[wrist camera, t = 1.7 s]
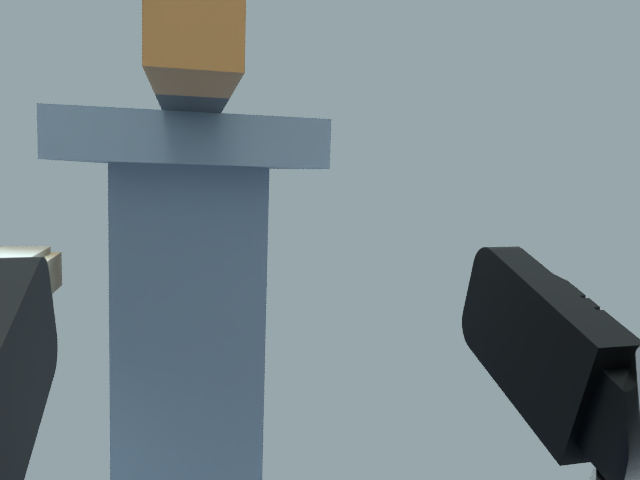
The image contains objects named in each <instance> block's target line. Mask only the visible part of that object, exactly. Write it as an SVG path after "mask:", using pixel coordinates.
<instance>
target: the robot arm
mask: <svg viewBox="0 0 640 480" xmlns="http://www.w3.org/2000/svg"><path fill="white" fill-rule="evenodd" d="M462 328H463V334H464V338H465V341H466V343H467V345H468V346H469V348H470V349H471V350H472V352H473V353H474V354H475V356H476V357H477V358H478V360H479V361H480V362H481V363H482V365H483V366H484V367H485V369H486V370H487V371H488V373H489V374H490V375H491V376H492V378H493V379H494V380H495V382H496V383H497V384H498V386H499V387H500V388H501V389H502V391H503V392H504V393H505V395H506V396H507V397H508V399H509V400H510V401H511V403H512V404H513V405H514V406H515V408H516V409H517V410H518V412H519V413H520V414H521V415H522V417H523V418H524V419H525V421H526V422H527V423H528V425H529V426H530V427H531V429H532V430H533V431H534V433H535V434H536V435H537V436H538V438H539V439H540V440H541V442H542V443H543V444H544V446H545V447H546V448H547V449H548V451H549V452H550V453H551V455H552V456H553V457H554V459H555V460H556V461H557V463H558V464H559V465H560V466H561V465H569V464H577V463H586V462H591V463H592V464H593V465H594V469H593V472H592V474H591V477H590V480H640V339H639V338H637V337H636V336H635V335H634V334H632V333H631V332H630V331H629V330H628V329H626V328H625V327H624V326H623V325H621V324H620V323H619V322H618V321H616V320H615V319H614V318H613V317H611V316H610V315H609V314H608V313H607V312H605V311H604V310H600V307H599V306H598V305H597V304H595V303H594V302H593V301H592V300H591V299H589V298H585V295H584V294H583V293H582V292H581V291H579V290H578V289H577V288H576V287H575V286H573V285H572V284H571V283H570V282H568V281H566V280H564V279H562V278H560V277H558V276H556V275H554V274H552V273H551V272H550V271H549V270H548V269H546V268H545V267H544V266H543V265H542V264H540V263H539V262H538V261H537V260H535V259H534V258H533V257H532V256H531V255H529V254H528V253H527V252H526V251H524V250H523V249H521V248H520V247H484V248H481V249H480V250H479V251H478V252H477V254H476V256H475V259H474V263H473V268H472V272H471V277H470V282H469V287H468V292H467V296H466V301H465V306H464V310H463V316H462ZM56 362H57V333H56V324H55V316H54V308H53V299H52V291H51V282H50V274H49V268H48V263H47V260H46V259H45V257H13V258H0V480H24V478H25V474H26V471H27V467H28V464H29V460H30V457H31V454H32V450H33V447H34V443H35V440H36V436H37V433H38V429H39V426H40V422H41V419H42V415H43V412H44V408H45V405H46V401H47V398H48V394H49V391H50V388H51V384H52V381H53V377H54V374H55V369H56Z"/></svg>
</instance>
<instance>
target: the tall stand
mask: <svg viewBox="0 0 640 480" xmlns="http://www.w3.org/2000/svg"><path fill="white" fill-rule="evenodd" d="M37 132H38V159H48V160H65V161H80V162H95V163H108V205H109V206H108V210H109V211H108V212H109V213H108V216H109V341H110V342H109V354H110V480H262V458H263V457H262V456H263V416H264V373H265V330H266V329H265V328H266V287H267V243H268V241H267V240H268V200H269V169H329V168H330V140H331V136H330V135H331V119H317V118H300V117H299V118H298V117H281V116H263V115H244V114H226V113H225V114H224V113H207V112H189V111H170V110H152V109H133V108H114V107H96V106H95V107H94V106H77V105H59V104H58V105H57V104H41V103H40V104H39V103H37Z"/></svg>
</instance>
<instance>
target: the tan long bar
mask: <svg viewBox="0 0 640 480" xmlns="http://www.w3.org/2000/svg"><path fill="white" fill-rule="evenodd" d="M245 18H246V0H142V66H143V69H144V71H145V73H146V75H147V77H148V79H149V82H150V84H151V86H152V89H153V91H154V93H155V95H156V97H157V100H158V102H159V104H160V106H161V109H162V110H170V111H189V112H207V113H221V112H222V111H223V109H224V107H225V105H226V104H227V102H228V100H229V98H230V97H231V95H232V93H233V92H234V90H235V88H236V86H237V85H238V83H239V82H240V80H241V78H242V76H243V75H244V73H245V21H246V19H245Z"/></svg>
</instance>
